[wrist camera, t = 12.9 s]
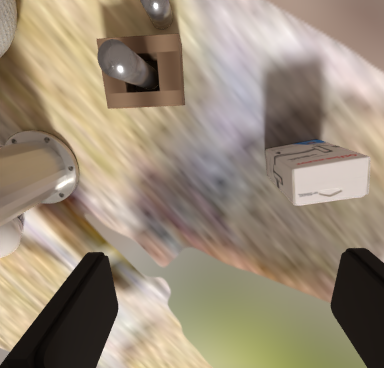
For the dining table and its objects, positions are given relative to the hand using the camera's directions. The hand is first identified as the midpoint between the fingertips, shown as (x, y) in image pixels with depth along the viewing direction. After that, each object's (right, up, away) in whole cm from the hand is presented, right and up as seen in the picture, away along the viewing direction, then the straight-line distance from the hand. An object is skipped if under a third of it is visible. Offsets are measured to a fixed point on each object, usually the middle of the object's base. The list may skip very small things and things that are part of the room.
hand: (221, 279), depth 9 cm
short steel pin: (-5, +27, +21) cm, 34 cm away
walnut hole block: (-7, +20, +23) cm, 31 cm away
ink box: (+15, +8, +27) cm, 32 cm away
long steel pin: (-8, +20, +23) cm, 31 cm away
